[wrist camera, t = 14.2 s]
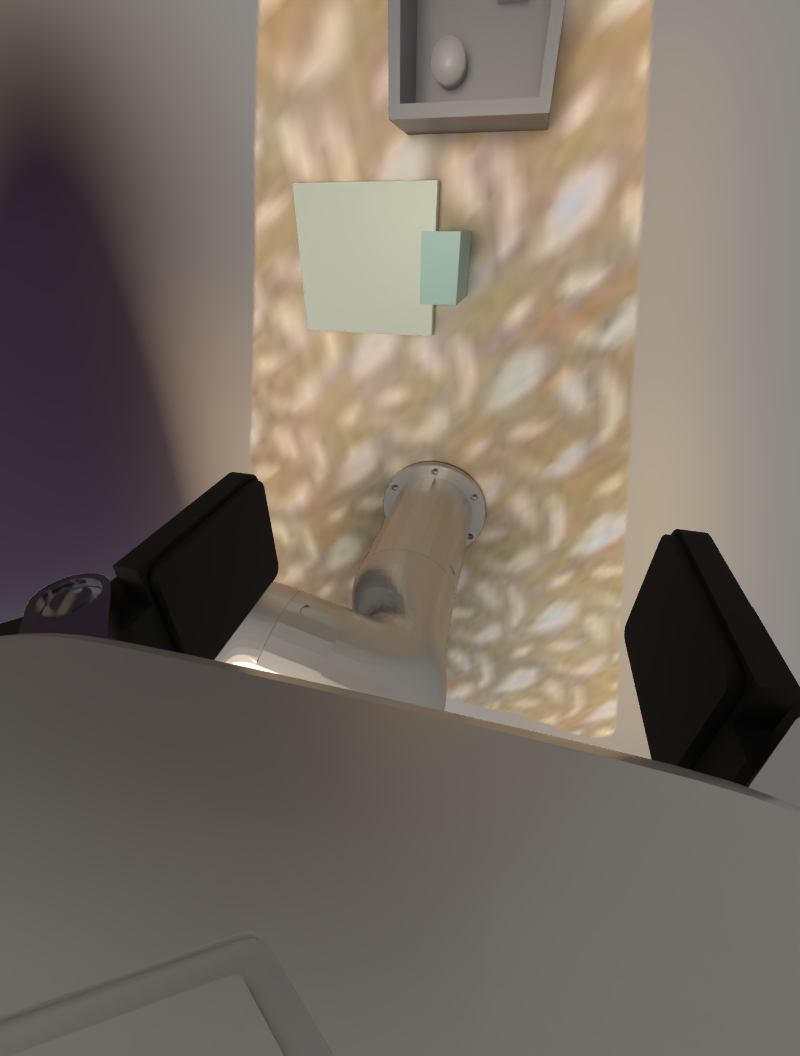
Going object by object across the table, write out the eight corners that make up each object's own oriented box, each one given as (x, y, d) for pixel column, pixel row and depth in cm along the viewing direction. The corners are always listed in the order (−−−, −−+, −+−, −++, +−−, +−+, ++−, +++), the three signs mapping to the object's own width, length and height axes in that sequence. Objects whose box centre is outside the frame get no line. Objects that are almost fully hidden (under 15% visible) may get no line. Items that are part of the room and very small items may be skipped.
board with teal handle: (312, 327, 47) (281, 340, 41) (298, 184, 40) (259, 176, 35) (463, 335, 44) (452, 350, 38) (475, 180, 37) (464, 171, 31)
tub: (546, 129, 34) (549, 112, 29) (407, 134, 36) (388, 119, 32) (583, -128, 28) (594, -204, 23) (411, -103, 30) (387, -168, 25)
